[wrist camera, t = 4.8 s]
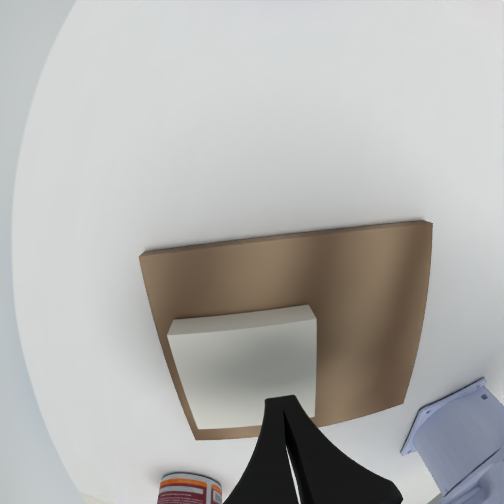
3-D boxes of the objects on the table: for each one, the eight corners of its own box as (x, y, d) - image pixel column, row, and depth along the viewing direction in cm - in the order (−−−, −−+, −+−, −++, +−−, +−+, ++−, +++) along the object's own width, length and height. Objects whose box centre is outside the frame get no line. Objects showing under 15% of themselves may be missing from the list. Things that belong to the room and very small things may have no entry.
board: (422, 220, 14) (432, 223, 14) (398, 395, 18) (403, 403, 17) (144, 251, 14) (138, 256, 13) (196, 430, 18) (195, 440, 17)
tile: (316, 318, 13) (166, 335, 12) (314, 416, 14) (198, 429, 14) (307, 303, 14) (173, 318, 14) (308, 398, 16) (200, 409, 16)
